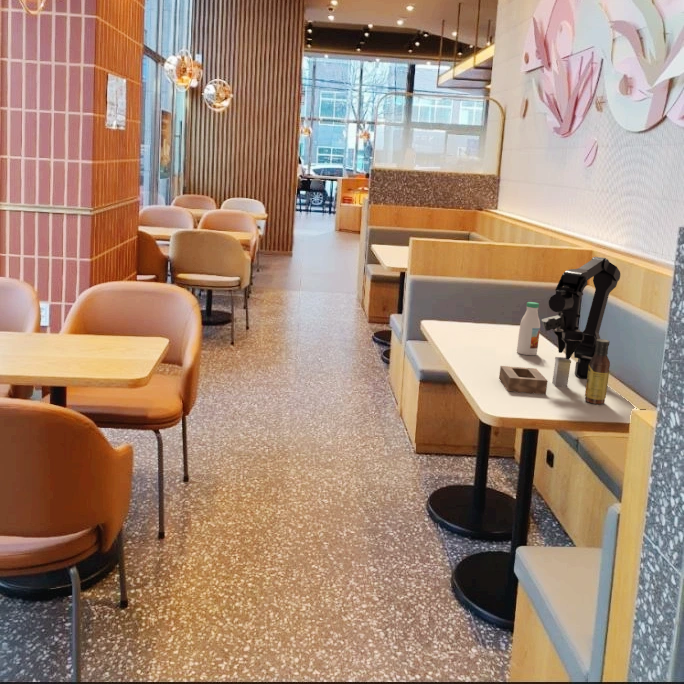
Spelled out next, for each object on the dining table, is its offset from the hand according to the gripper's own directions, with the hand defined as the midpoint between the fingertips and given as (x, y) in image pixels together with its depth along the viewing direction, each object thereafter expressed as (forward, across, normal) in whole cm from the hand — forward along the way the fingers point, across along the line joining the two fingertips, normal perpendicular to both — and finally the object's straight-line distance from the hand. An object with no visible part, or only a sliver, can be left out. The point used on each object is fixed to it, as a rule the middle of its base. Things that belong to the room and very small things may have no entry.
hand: (563, 355), depth 278 cm
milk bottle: (+10, -47, -1) cm, 48 cm away
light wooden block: (+10, 0, 0) cm, 10 cm away
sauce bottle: (+10, +19, +6) cm, 22 cm away
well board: (+10, +6, -14) cm, 18 cm away
